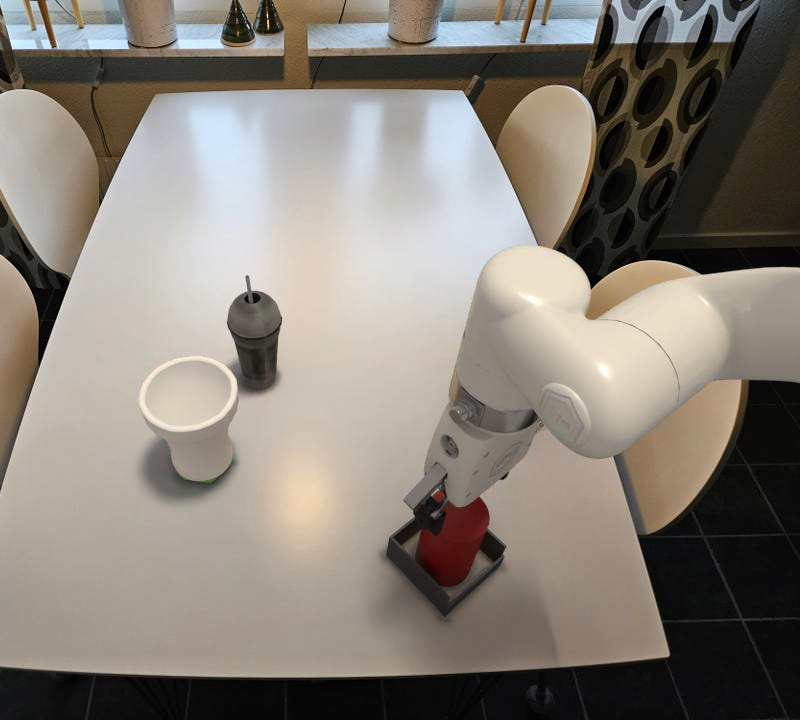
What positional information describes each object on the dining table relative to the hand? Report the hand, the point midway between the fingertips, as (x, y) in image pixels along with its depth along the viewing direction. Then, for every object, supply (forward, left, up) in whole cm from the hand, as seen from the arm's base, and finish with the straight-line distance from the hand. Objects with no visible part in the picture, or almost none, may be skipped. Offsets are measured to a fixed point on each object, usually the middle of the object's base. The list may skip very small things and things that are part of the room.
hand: (460, 495), depth 65 cm
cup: (+29, +14, -14) cm, 35 cm away
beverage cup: (+36, 0, -14) cm, 38 cm away
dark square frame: (0, 0, -14) cm, 14 cm away
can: (0, 0, -14) cm, 14 cm away
